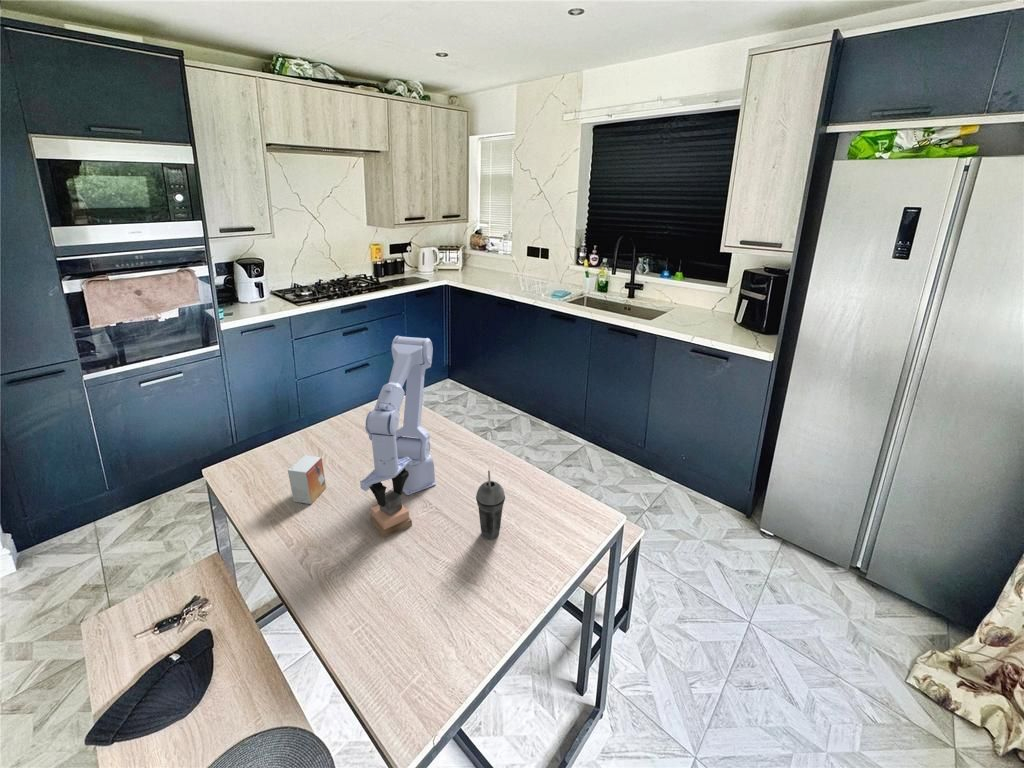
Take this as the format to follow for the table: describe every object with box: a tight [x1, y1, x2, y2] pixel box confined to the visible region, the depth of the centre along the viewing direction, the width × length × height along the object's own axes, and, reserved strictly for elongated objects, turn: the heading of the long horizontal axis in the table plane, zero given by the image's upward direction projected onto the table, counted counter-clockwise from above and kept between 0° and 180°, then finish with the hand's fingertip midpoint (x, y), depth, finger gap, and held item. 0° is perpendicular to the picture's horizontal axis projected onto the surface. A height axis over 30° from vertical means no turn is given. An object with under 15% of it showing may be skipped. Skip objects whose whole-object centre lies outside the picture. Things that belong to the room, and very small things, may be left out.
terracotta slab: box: [370, 504, 410, 530], centre depth 129 cm, size 7×7×2 cm
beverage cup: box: [475, 470, 506, 541], centre depth 123 cm, size 7×7×20 cm
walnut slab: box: [369, 513, 413, 539], centre depth 130 cm, size 8×8×2 cm
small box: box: [287, 454, 327, 505], centre depth 138 cm, size 8×6×10 cm
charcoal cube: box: [378, 489, 403, 516], centre depth 128 cm, size 4×4×4 cm
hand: (389, 499), depth 127 cm, fingers open, 5 cm apart
